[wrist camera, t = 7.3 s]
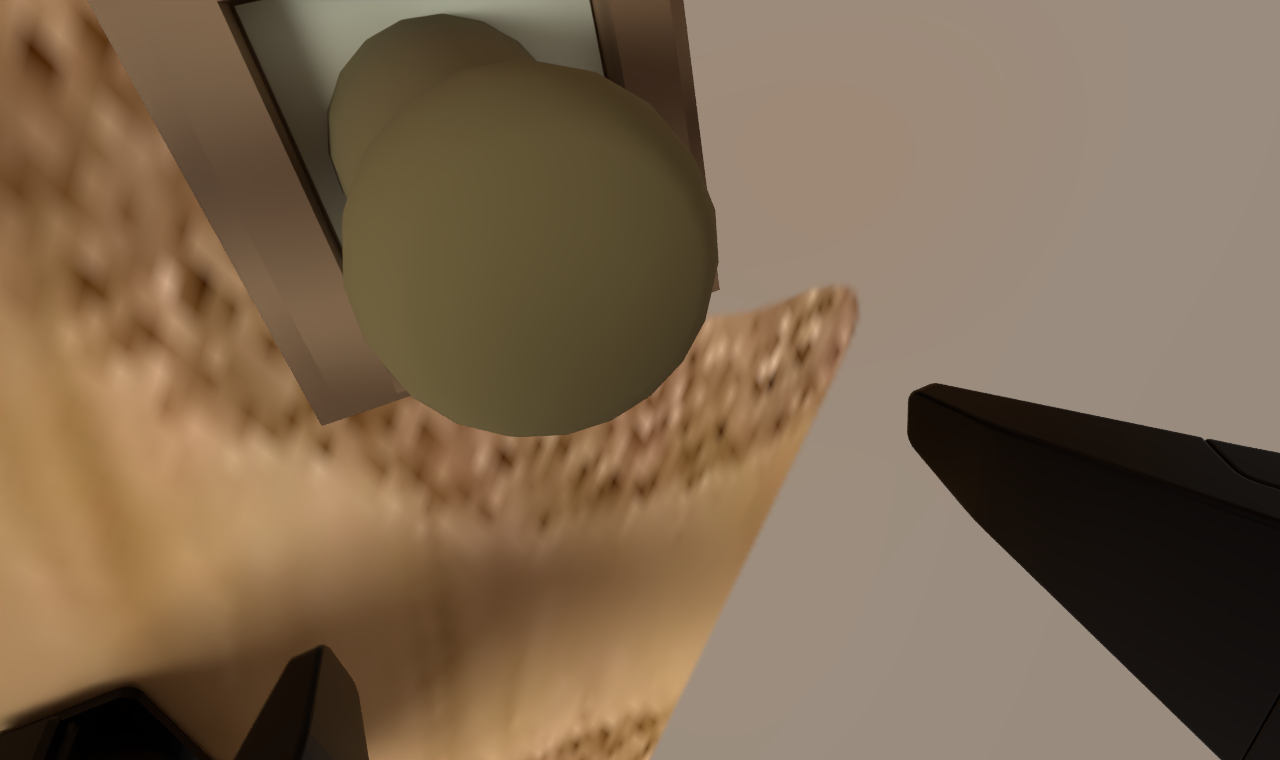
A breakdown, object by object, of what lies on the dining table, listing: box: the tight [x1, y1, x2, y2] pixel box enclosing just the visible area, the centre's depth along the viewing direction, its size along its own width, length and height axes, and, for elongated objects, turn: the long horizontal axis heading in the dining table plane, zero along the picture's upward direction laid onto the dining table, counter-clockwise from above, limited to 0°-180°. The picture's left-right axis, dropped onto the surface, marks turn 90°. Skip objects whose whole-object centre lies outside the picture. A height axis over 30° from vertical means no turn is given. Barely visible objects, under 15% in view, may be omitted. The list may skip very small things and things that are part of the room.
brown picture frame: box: [87, 0, 719, 426], centre depth 17 cm, size 13×13×2 cm
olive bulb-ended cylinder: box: [327, 13, 718, 437], centre depth 13 cm, size 6×6×11 cm
